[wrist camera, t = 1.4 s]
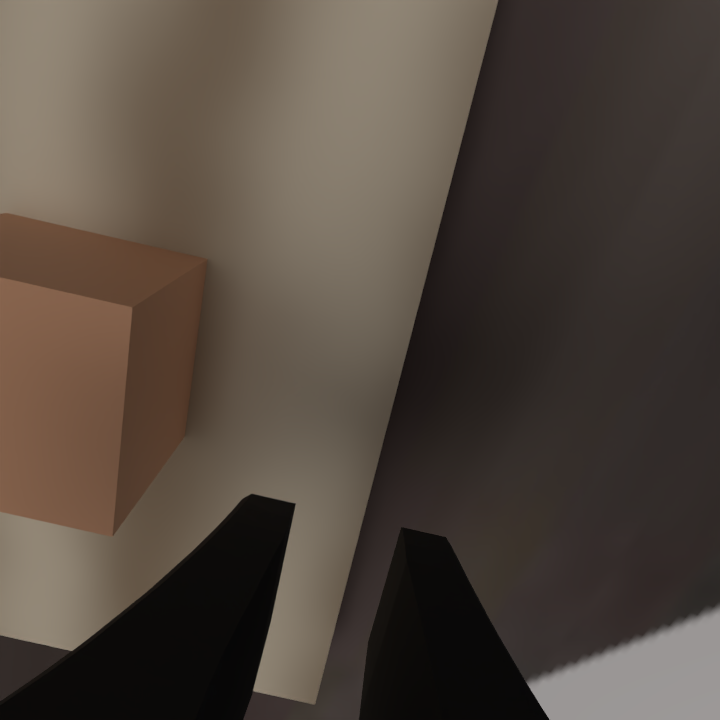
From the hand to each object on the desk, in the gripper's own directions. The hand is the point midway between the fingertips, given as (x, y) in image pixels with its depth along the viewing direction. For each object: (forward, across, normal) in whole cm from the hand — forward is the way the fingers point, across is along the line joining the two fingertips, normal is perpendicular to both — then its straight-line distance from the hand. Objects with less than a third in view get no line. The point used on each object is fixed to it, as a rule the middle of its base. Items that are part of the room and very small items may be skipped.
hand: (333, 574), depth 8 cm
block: (+6, +6, 0) cm, 9 cm away
